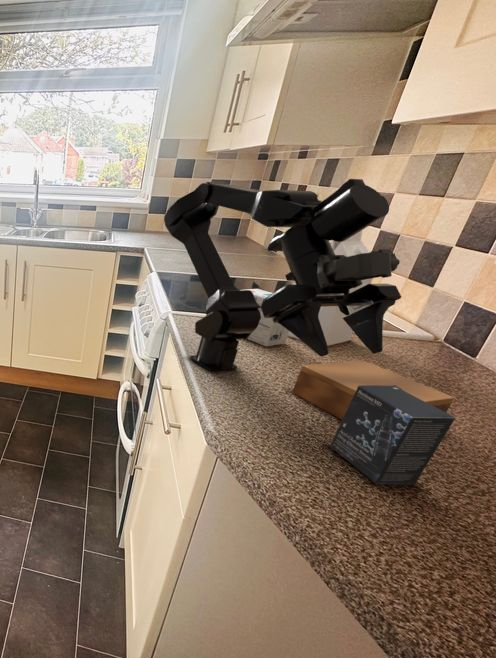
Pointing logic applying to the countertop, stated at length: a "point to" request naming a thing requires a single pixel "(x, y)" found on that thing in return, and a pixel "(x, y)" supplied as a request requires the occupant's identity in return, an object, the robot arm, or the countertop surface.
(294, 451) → the countertop surface
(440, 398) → the wooden plinth
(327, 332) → the milk
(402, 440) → the box
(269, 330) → the light bulb box
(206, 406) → the countertop surface
